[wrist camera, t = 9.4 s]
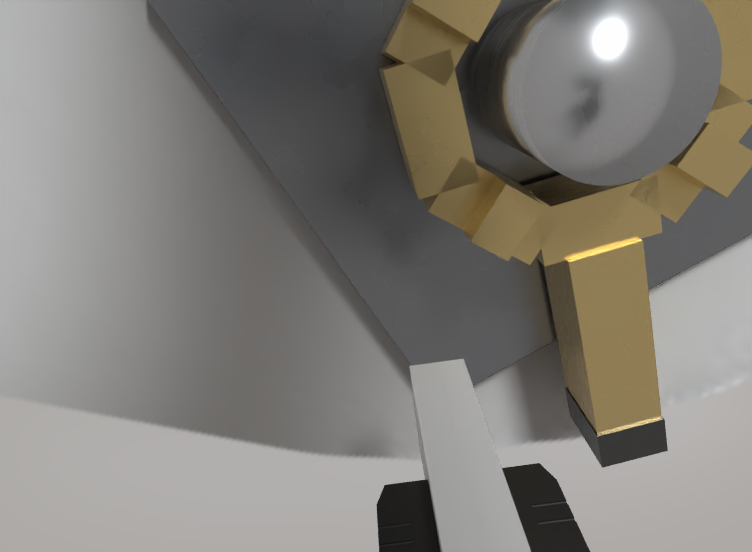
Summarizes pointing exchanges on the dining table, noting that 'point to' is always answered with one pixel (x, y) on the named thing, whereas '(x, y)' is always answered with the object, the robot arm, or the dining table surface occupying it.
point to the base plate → (488, 139)
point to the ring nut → (567, 212)
